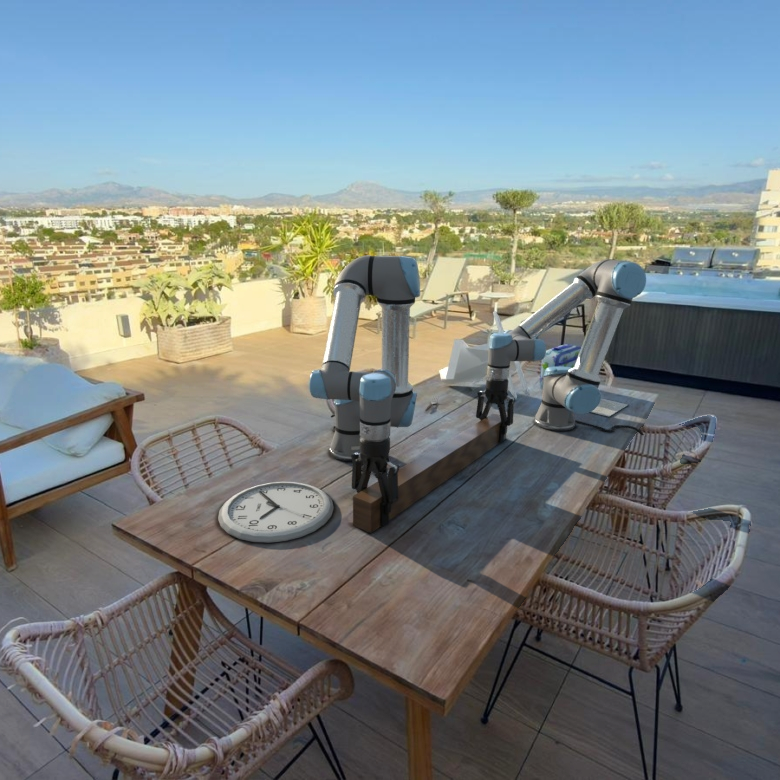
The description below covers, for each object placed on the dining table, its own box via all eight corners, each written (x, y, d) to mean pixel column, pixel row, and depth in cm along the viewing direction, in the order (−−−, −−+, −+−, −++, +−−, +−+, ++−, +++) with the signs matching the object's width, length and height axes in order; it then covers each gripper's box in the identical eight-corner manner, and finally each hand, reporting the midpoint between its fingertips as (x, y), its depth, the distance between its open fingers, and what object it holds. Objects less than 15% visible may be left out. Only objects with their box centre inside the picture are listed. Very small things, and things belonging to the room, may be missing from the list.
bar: (491, 434, 194) (492, 413, 191) (505, 438, 190) (507, 417, 188) (352, 525, 133) (352, 496, 131) (370, 533, 130) (371, 503, 128)
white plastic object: (461, 429, 252) (437, 405, 227) (444, 352, 274) (420, 323, 250) (535, 404, 240) (518, 377, 215) (510, 326, 262) (492, 293, 237)
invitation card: (608, 416, 214) (573, 407, 224) (608, 416, 214) (573, 408, 224) (628, 404, 229) (594, 396, 238) (628, 405, 229) (594, 397, 238)
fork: (422, 411, 216) (422, 407, 215) (433, 400, 230) (433, 396, 230) (428, 412, 215) (429, 407, 215) (438, 401, 230) (439, 396, 229)
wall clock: (332, 534, 126) (204, 538, 124) (332, 540, 127) (205, 544, 124) (334, 477, 155) (230, 480, 152) (334, 482, 155) (231, 485, 153)
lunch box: (556, 397, 238) (561, 352, 232) (535, 391, 245) (539, 348, 239) (582, 385, 256) (588, 344, 249) (562, 381, 263) (567, 340, 257)
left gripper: (336, 432, 131) (337, 513, 138) (397, 451, 120) (395, 538, 127) (355, 423, 137) (355, 502, 144) (415, 441, 126) (412, 525, 133)
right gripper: (468, 375, 183) (464, 436, 190) (518, 385, 173) (512, 449, 180) (478, 371, 189) (474, 430, 196) (527, 380, 178) (521, 443, 185)
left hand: (374, 519), depth 135 cm, fingers closed on bar, 6 cm apart
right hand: (492, 439), depth 188 cm, fingers closed on bar, 6 cm apart
